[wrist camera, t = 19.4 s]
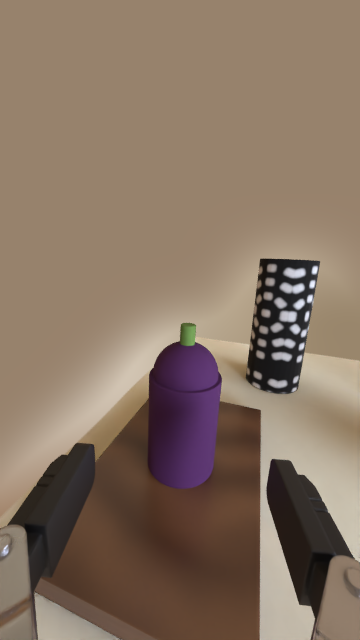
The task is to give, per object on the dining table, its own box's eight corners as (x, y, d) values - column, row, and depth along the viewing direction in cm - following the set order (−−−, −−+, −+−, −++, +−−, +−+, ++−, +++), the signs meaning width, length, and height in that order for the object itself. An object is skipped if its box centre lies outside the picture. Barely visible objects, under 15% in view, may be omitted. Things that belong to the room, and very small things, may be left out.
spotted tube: (307, 385, 41) (330, 262, 36) (279, 399, 36) (301, 259, 32) (265, 366, 48) (279, 260, 43) (235, 376, 43) (249, 258, 38)
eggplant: (185, 429, 27) (192, 313, 24) (227, 466, 22) (243, 329, 19) (135, 453, 23) (136, 320, 20) (173, 503, 19) (181, 341, 15)
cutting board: (157, 397, 35) (157, 387, 35) (259, 420, 31) (260, 409, 31) (13, 580, 15) (11, 562, 15) (255, 714, 11) (259, 692, 11)
